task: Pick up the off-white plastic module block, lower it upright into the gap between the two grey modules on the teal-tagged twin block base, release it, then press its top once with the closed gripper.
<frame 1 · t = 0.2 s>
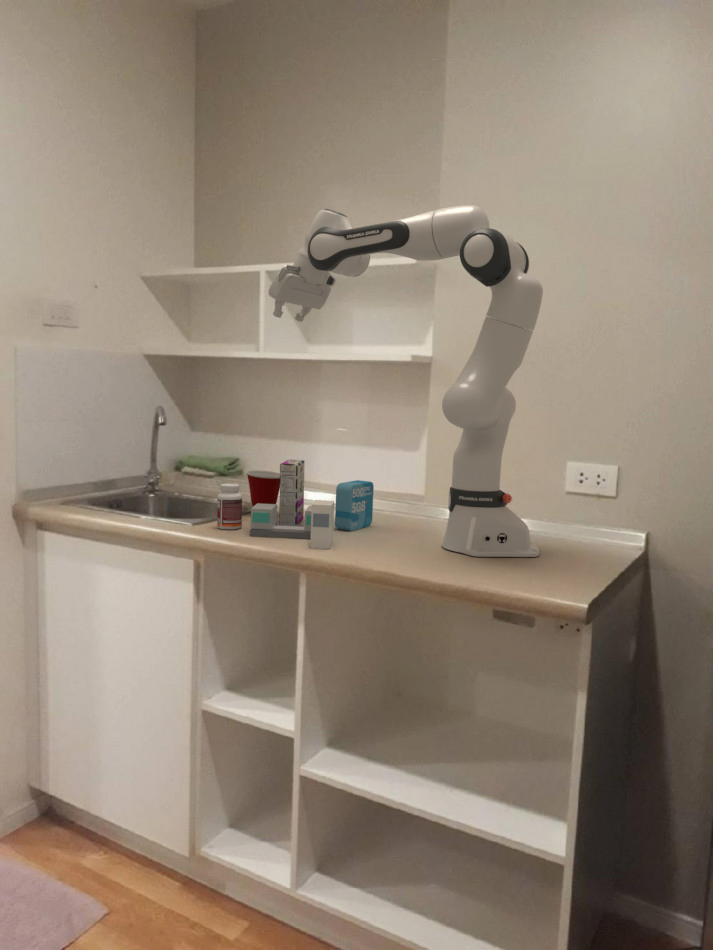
hand: (287, 318, 197), 54 cm above the counter, tool tilted 30°, fingers open, 8 cm apart
plastic cup: (264, 515, 209), on the counter
module block: (321, 545, 172), on the counter
data package: (353, 528, 195), on the counter
pill bottle: (229, 528, 188), on the counter
candy bar box: (291, 523, 199), on the counter
teal-tagged twin block base: (289, 534, 183), on the counter
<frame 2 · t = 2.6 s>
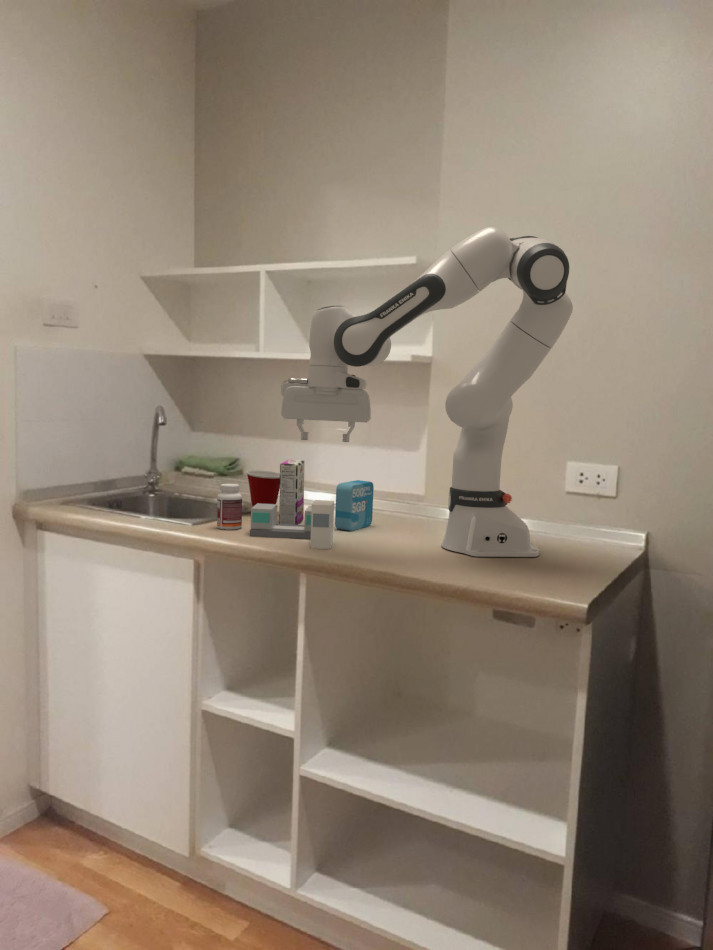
hand: (325, 440, 169), 24 cm above the counter, tool pointing down, fingers open, 8 cm apart
nothing on the counter moved.
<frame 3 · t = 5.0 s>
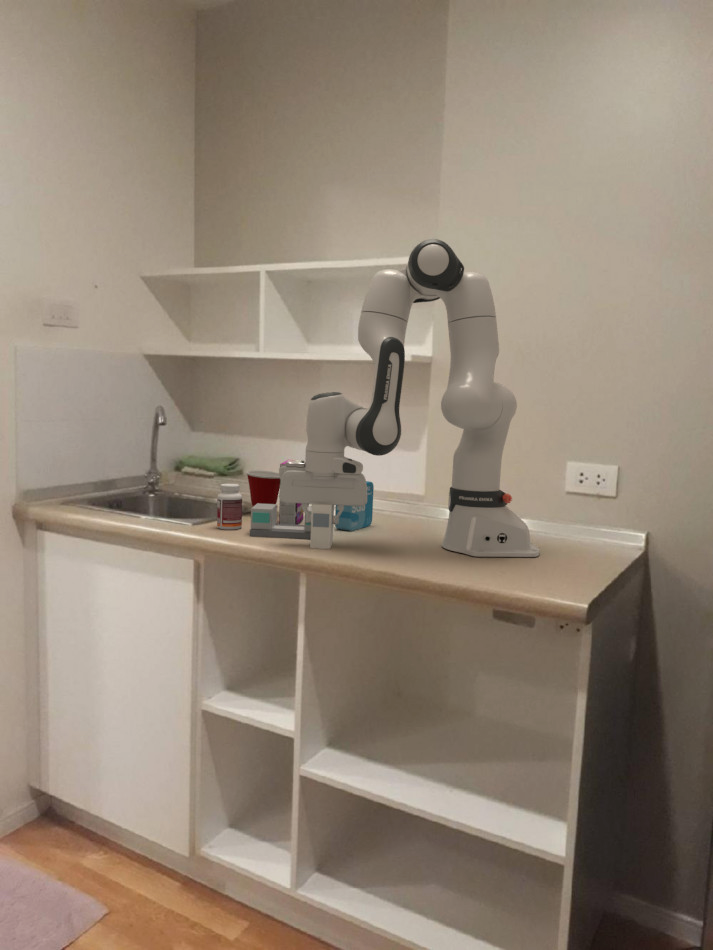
hand: (322, 523, 171), 5 cm above the counter, tool pointing down, fingers closed on module block, 4 cm apart
module block: (321, 545, 172), on the counter, touching gripper
everything else where it was.
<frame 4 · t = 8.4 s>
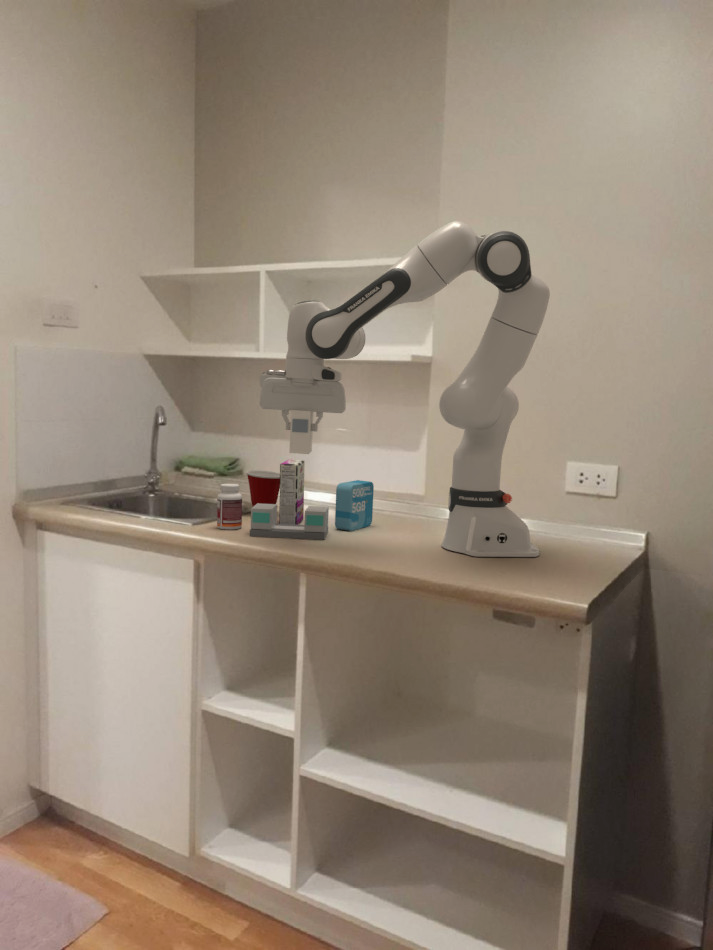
hand: (301, 430, 176), 26 cm above the counter, tool pointing down, fingers closed on module block, 4 cm apart
module block: (300, 452, 177), point 21 cm above the counter, touching gripper
everything else where it was.
when the fingers open (8 cm above the counter, at t = 11.8 s): module block drops 1 cm, resting on teal-tagged twin block base.
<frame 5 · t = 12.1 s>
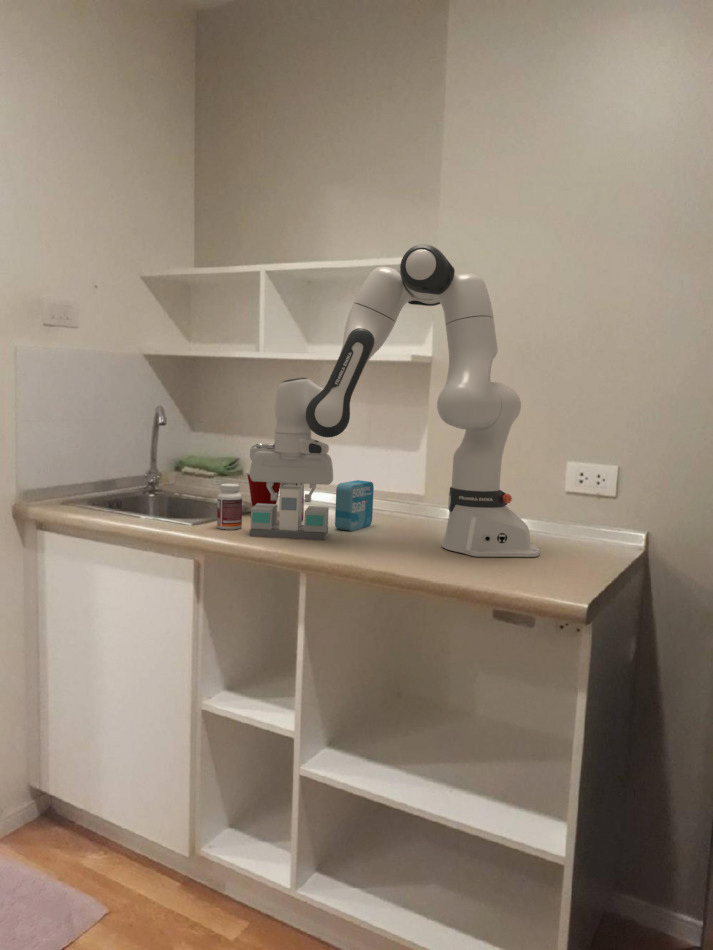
hand: (290, 501, 182), 8 cm above the counter, tool pointing down, fingers open, 7 cm apart
module block: (290, 527, 183), point 2 cm above the counter, touching teal-tagged twin block base
everything else where it was.
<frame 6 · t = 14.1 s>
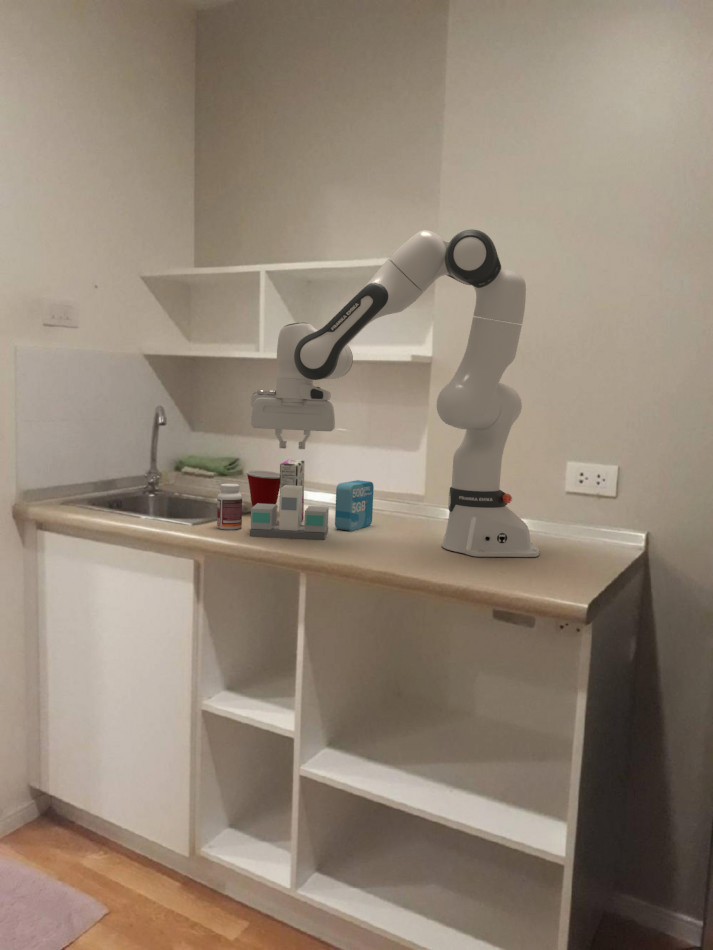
hand: (292, 448, 181), 21 cm above the counter, tool pointing down, fingers open, 3 cm apart
nothing on the counter moved.
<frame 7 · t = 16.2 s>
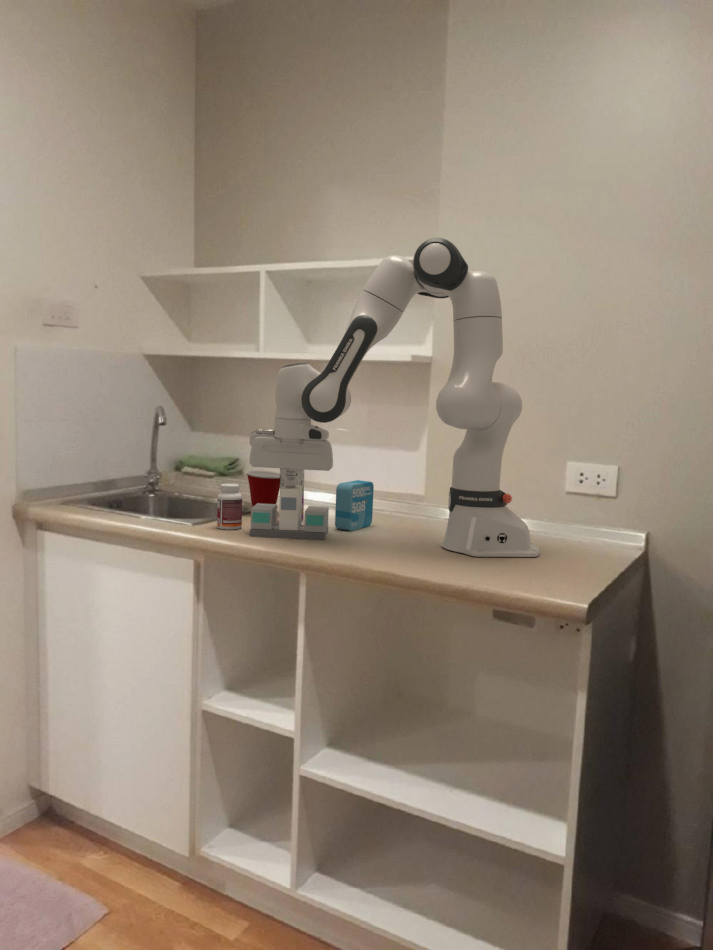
hand: (290, 487, 182), 12 cm above the counter, tool pointing down, fingers closed, pressing on module block
module block: (290, 527, 183), point 2 cm above the counter, touching gripper, teal-tagged twin block base
everything else where it was.
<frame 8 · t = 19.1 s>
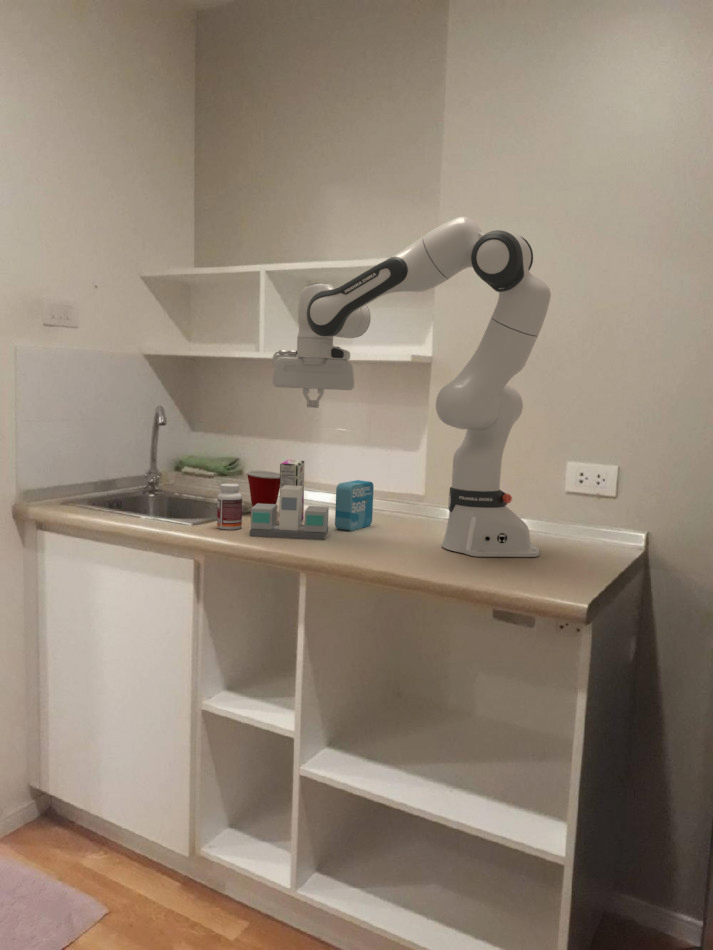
hand: (312, 407, 185), 31 cm above the counter, tool pointing down, fingers closed
module block: (290, 527, 183), point 2 cm above the counter, touching teal-tagged twin block base
everything else where it was.
at the end: module block 0.1 cm off-centre on the teal-tagged twin block base, point 1.6 cm above the teal-tagged twin block base's base; module block tilted 0°; the gripper is holding nothing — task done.
